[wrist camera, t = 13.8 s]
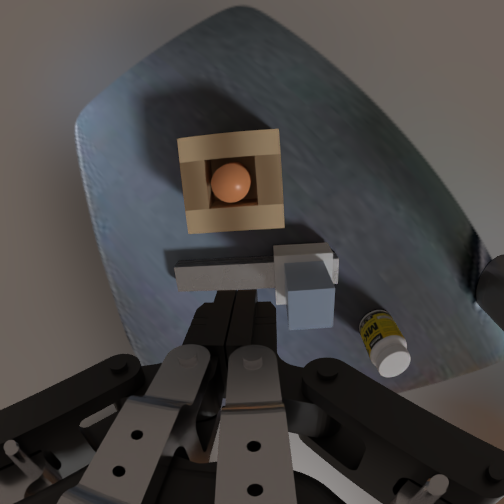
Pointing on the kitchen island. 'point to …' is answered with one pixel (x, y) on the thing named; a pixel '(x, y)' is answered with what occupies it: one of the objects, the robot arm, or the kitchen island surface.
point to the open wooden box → (260, 192)
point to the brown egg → (231, 182)
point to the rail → (231, 273)
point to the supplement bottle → (384, 343)
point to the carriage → (305, 284)
